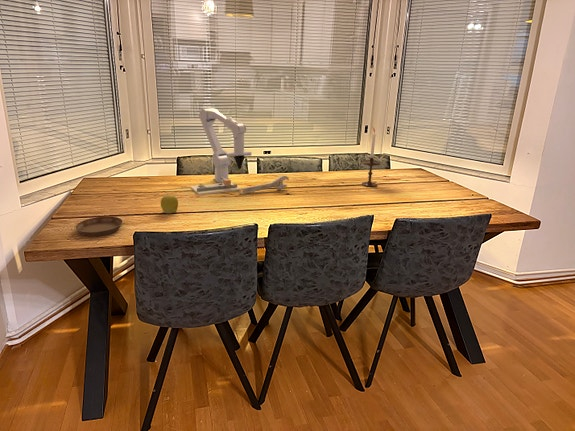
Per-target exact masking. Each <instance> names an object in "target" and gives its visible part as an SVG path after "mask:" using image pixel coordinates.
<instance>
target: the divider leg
mask: <svg viewBox="0 0 575 431" xmlns="http://www.w3.org/2000/svg"><path fill="white" fill-rule="evenodd" d="M231 183H232V180H231V179H230V178H228V179H225V178H224V177H221V184H224V185H225V186H231Z"/></svg>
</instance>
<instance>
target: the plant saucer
mask: <svg viewBox="0 0 575 431" xmlns="http://www.w3.org/2000/svg"><path fill="white" fill-rule="evenodd" d="M123 223H124V222H123V219H121V218H120V217H118V216H105V215H104V216H96V217H91V218H88V219H84V220H82V221H80V222H78V223H77V224H76V225H75V230H77V231H78V233H80V234H82V235H83V236H87V237H101V236H107V235H110V234H113V233H115V232H117V231H118V230H119V229H120V228H121V226H122V224H123Z"/></svg>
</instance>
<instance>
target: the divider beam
mask: <svg viewBox="0 0 575 431" xmlns="http://www.w3.org/2000/svg"><path fill="white" fill-rule="evenodd" d="M232 184H233V185H231V186H225V185H223V186H214V187H205V186H204V185H205V184H202V183H199V184H198V185H200V188H197V192H200V191H209V190H218V189H227V188H236V187H238V184H236V183H232Z"/></svg>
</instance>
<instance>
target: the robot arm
mask: <svg viewBox="0 0 575 431" xmlns="http://www.w3.org/2000/svg"><path fill="white" fill-rule="evenodd" d="M198 117H199V120H200V121H201V124H202V128H203V130H204V132H205V135H206V137H207V140H208V142H209V144H210V147H211V149H212V152H213V154H212V155H211V159H212V162H213V165H214V167H215V168H214V178H213V181H215V182H217V183H221V177H224V178H225V179H229V166H230V165H231V162H232V160H231V158H233V159H234V161H235V163H236V166H237V169H238V170H241V169H242V167H243V163H244V161H245V159H246V158H245V156H246V157H251V156H252V152H251V151H245V133H246V131H247V128H246V125H245V124H244V123H243V122H242V123H241V122H240V123H239V122H238V121H236V120H235V119H234V118H233V117H231V116H230V117H227V116H225V115H224V114H222V113H221V112H219V110H218V109H217V108H215V107H212V108H201V109H200V110H199V114H198ZM216 120H217V121H219V122H221V123H223V125H224V127H226V128H227V129H228V130H230V131H231V132H232V137H233V152H227V151H225V150H224V149H223V148H222V145H221V143H220V141H219V138H218V136H217V134H216V131H215V129H214V126H213V125H214V124H215V122H216Z"/></svg>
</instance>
